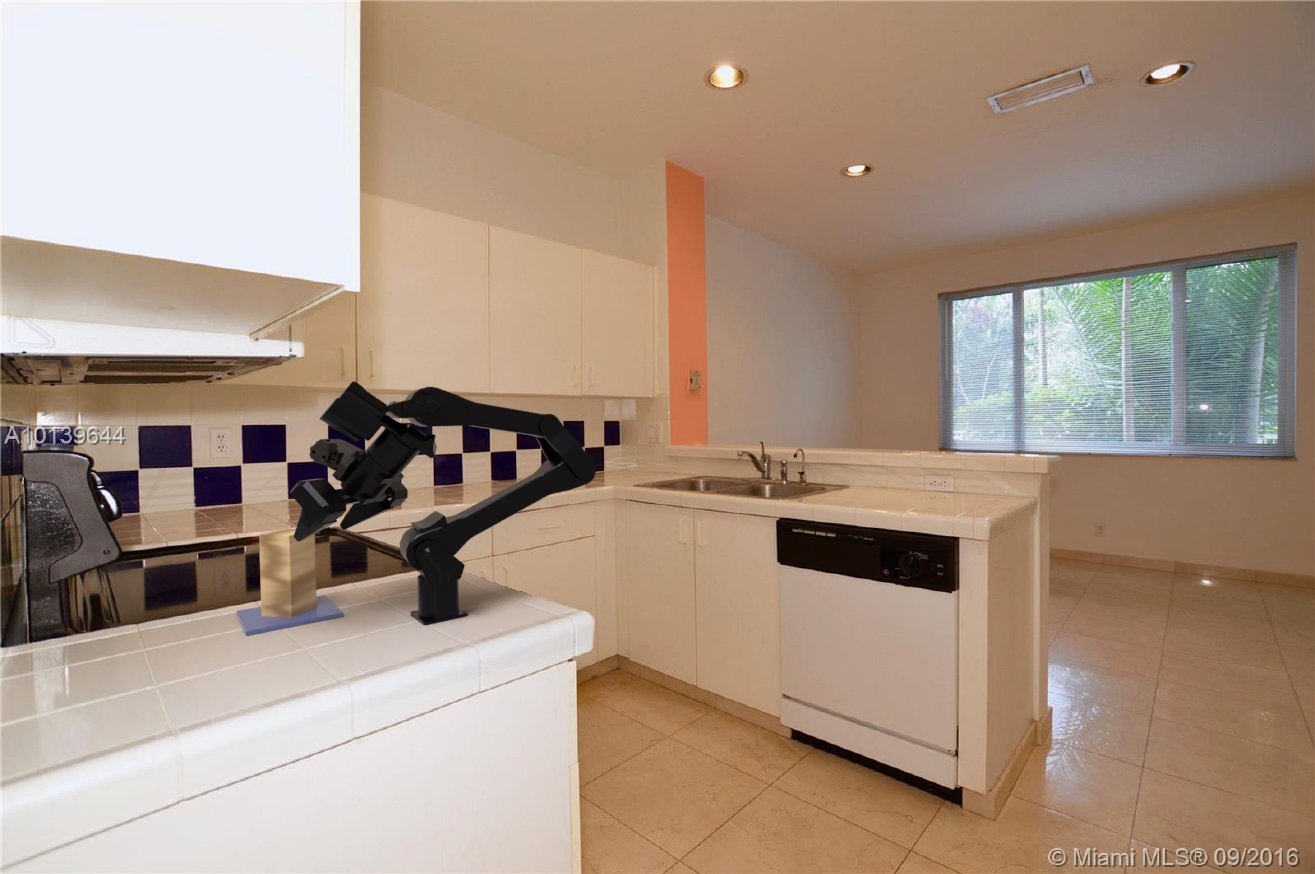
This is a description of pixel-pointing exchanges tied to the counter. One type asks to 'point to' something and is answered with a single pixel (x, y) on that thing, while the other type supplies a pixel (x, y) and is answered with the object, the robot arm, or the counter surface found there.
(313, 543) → the oak block
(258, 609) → the blue tile
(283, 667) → the counter surface
